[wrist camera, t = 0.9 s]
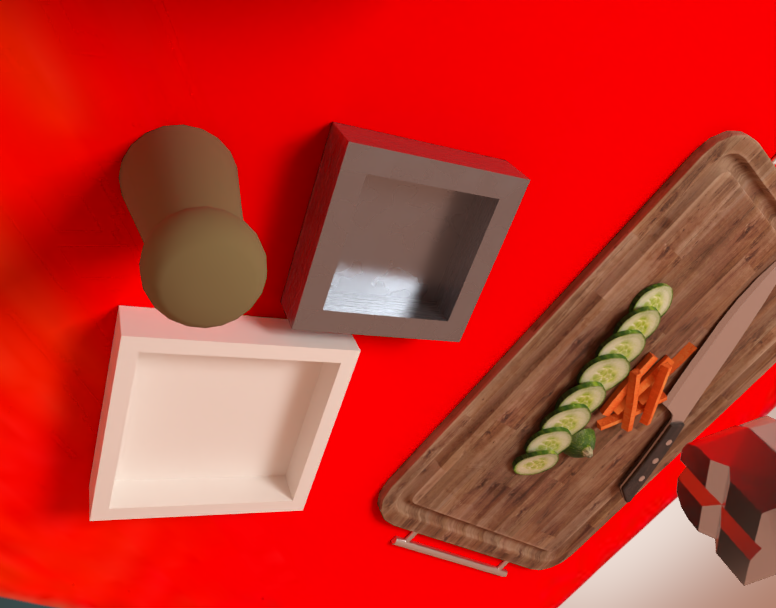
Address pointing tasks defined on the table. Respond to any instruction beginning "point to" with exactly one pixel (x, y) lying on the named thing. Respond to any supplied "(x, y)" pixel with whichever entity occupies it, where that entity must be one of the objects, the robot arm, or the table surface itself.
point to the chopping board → (608, 374)
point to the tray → (214, 416)
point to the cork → (192, 227)
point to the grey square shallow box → (398, 237)
